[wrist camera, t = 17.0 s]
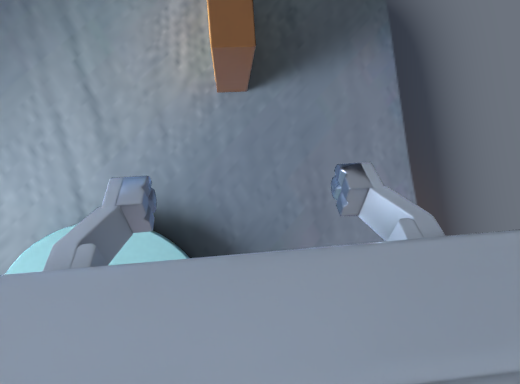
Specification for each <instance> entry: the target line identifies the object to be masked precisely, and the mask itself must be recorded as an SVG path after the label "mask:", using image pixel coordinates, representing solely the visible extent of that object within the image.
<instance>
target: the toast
mask: <svg viewBox="0 0 520 384" xmlns="http://www.w3.org/2000/svg"><path fill="white" fill-rule="evenodd" d="M207 8H208V22H209V35H210V45H211V52H212V60H213V67H214V74H215V81H216V86H217V92H241V91H247V89H248V83H249V78H250V73H251V68H252V63H253V58H254V53H255V47H256V40H255V25H254V10H253V0H207Z"/></svg>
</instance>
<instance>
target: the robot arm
mask: <svg viewBox="0 0 520 384" xmlns="http://www.w3.org/2000/svg"><path fill="white" fill-rule="evenodd" d="M334 171H335V174H336V175H335V176H334V177H333V178H332V181H331V191H332V195H333V198H334V199H336V200H337V204H336V206H337V209H338V211H339V214H340V216H358V217H360V218H361V219H362V220H363V221H364V222H365V223H366V224H367V225H368V226H369V227H370V228H372V229H373V230H374V231H375V232H376V233H377V234H378V235H379V236H380V237H381V238H382V239H384V240H385V241H384V242H372V243H361V244H349V245H338V246H326V247H315V248H303V249H292V250H280V251H269V252H257V253H246V254H235V255H223V256H212V257H200V258H189V259H177V260H166V261H154V262H143V263H131V264H120V265H108V264H109V263H110V262H111V261H112V259H113V258H114V257H115V256H116V254H117V253H118V252H119V251H120V249H121V248H122V247H123V246H124V245H125V243H126V242H127V241H128V240H129V238H130V237H131V236H132V235H133V234H132V233H140V232H149V231H153V227H154V220H155V218H154V215H153V213H154V212H155V211H156V206H157V202H156V194H155V190H154V189H153V188H151V185H152V181H151V179H150V177H149V176H135V177H116V178H111V179H110V181H109V184H108V187H107V191H106V194H105V197H104V200H103V204H102V207H97V208H96V209H95V210H94V211H93V212H92V213H90V214H89V215H88V216H87V217H86V218H85V219H83V220H82V221H81V222H80V223H79V224H78V225H76V226H75V227H74V228H73V229H72V230H71V231H69V232H68V233H67V234H66V235H65V236H64V237H62V238H61V239H60V240H59V241H58V242H56V243H55V244H54V245H53V247H52V249H51V252H50V254H49V257H48V259H47V261H46V264H45V266H44V269H43V271H40V272H29V273H17V274H6V275H0V384H520V230H509V231H498V232H487V233H476V234H464V235H452V236H445V234H444V233H443V231H442V229H441V228H440V226H439V225H438V223H437V222H436V220H435V218H434V217H433V215H431V214H430V213H428V212H426V211H425V210H423V209H422V208H420V207H419V206H417V205H416V204H414V203H412V202H411V201H409V200H408V199H406V198H405V197H403V196H401V195H400V194H398V193H397V192H395V191H394V190H392V189H390V188H389V187H384V185H383V183H382V181H381V179H380V177H379V176H378V174H377V172H376V170H375V168H374V167H373V165H372V163H371V162H360V163H348V164H337V165H336V167H335V170H334Z"/></svg>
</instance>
